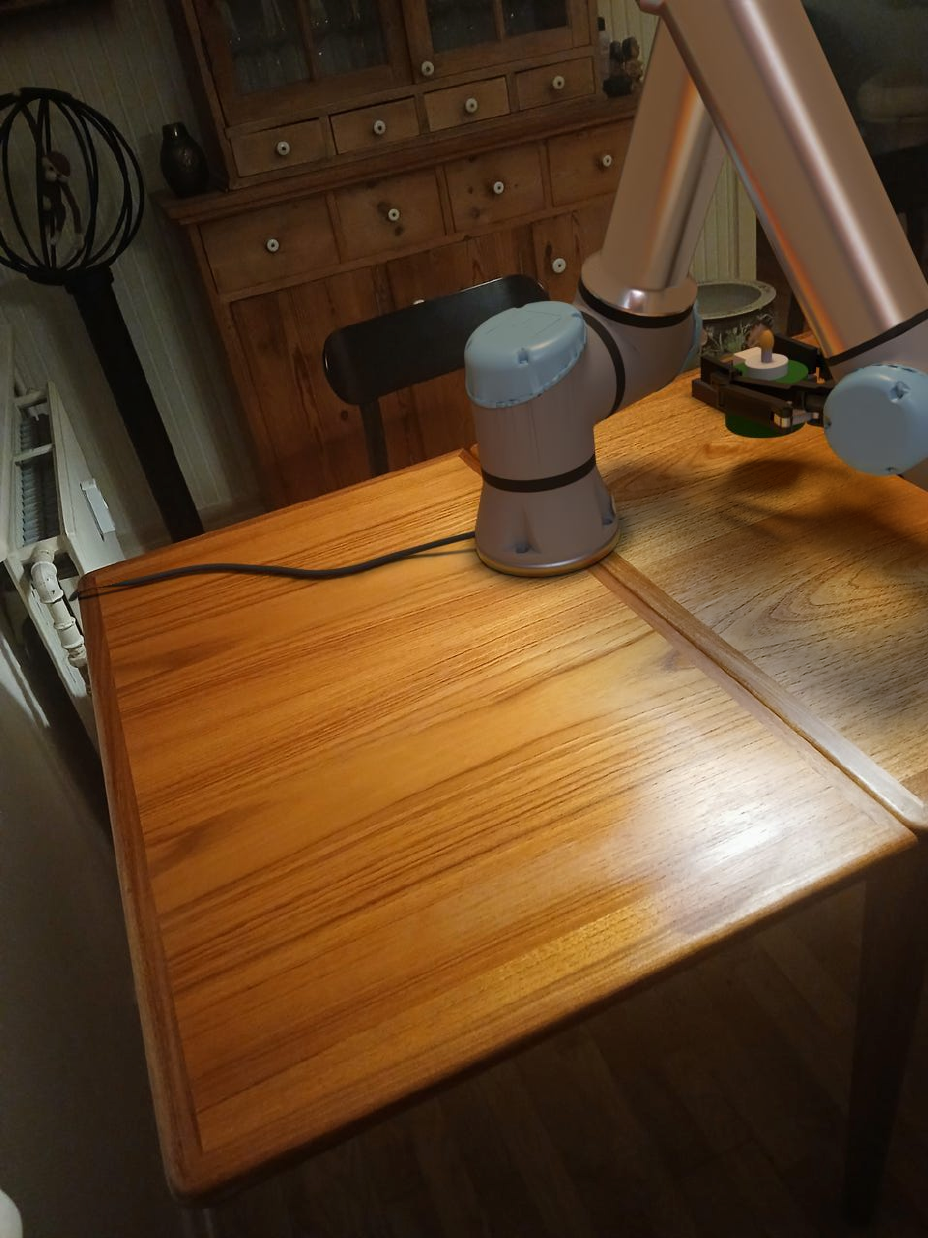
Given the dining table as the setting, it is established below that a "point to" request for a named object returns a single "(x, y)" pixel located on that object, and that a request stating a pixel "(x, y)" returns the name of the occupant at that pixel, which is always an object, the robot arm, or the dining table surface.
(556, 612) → the dining table surface
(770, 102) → the robot arm
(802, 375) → the candle
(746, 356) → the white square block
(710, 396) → the tiered dark pedestal
